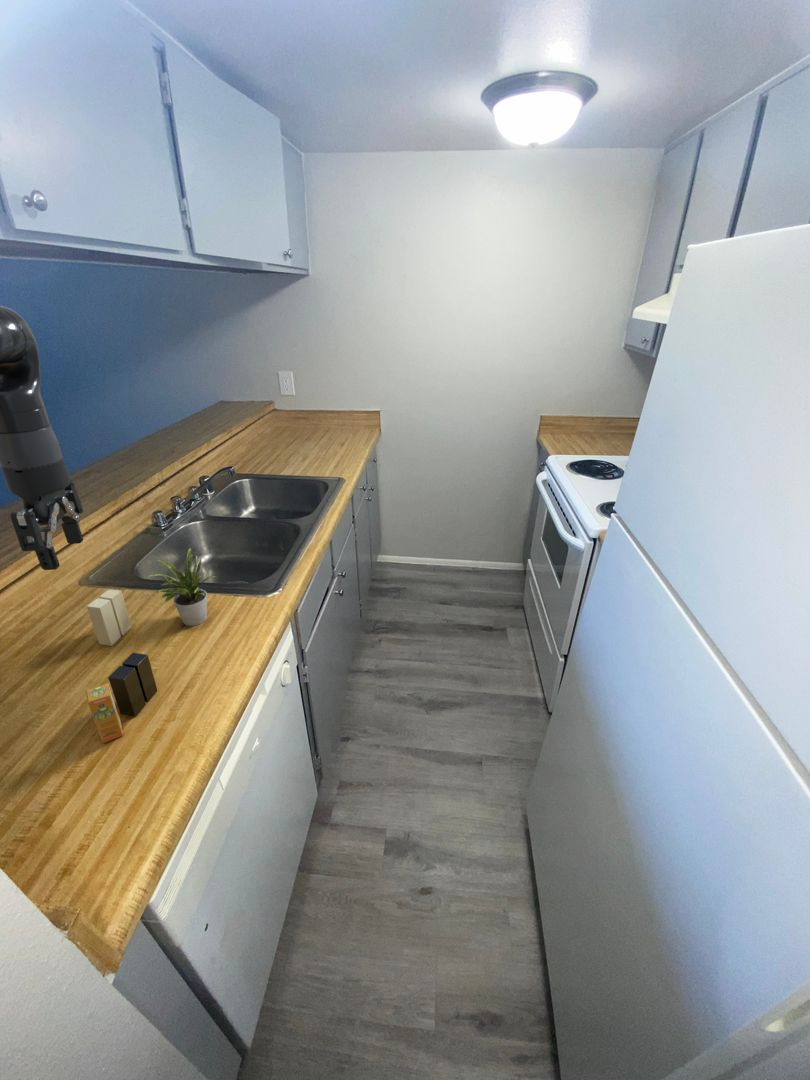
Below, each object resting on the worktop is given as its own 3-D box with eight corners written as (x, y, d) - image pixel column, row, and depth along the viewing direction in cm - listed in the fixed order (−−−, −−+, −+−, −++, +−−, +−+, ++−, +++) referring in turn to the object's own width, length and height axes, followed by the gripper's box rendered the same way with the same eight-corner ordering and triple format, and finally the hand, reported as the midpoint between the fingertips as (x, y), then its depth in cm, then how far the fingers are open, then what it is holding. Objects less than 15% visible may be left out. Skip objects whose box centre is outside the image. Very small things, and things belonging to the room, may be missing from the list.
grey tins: (135, 717, 85) (123, 679, 80) (120, 714, 85) (107, 677, 81) (157, 690, 90) (147, 654, 86) (143, 688, 91) (132, 652, 87)
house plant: (164, 603, 115) (149, 544, 108) (224, 595, 119) (214, 538, 112) (156, 640, 103) (139, 576, 96) (223, 629, 107) (212, 568, 100)
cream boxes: (111, 646, 101) (99, 607, 96) (99, 644, 101) (86, 606, 97) (131, 627, 107) (121, 590, 102) (119, 625, 107) (108, 589, 102)
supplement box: (102, 745, 79) (85, 702, 75) (100, 731, 82) (84, 688, 77) (124, 736, 81) (109, 694, 76) (122, 723, 83) (108, 680, 79)
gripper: (28, 444, 74) (59, 536, 82) (-30, 475, 62) (13, 580, 69) (80, 444, 75) (106, 534, 83) (34, 474, 63) (70, 577, 70)
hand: (64, 555), depth 76 cm, fingers open, 8 cm apart
